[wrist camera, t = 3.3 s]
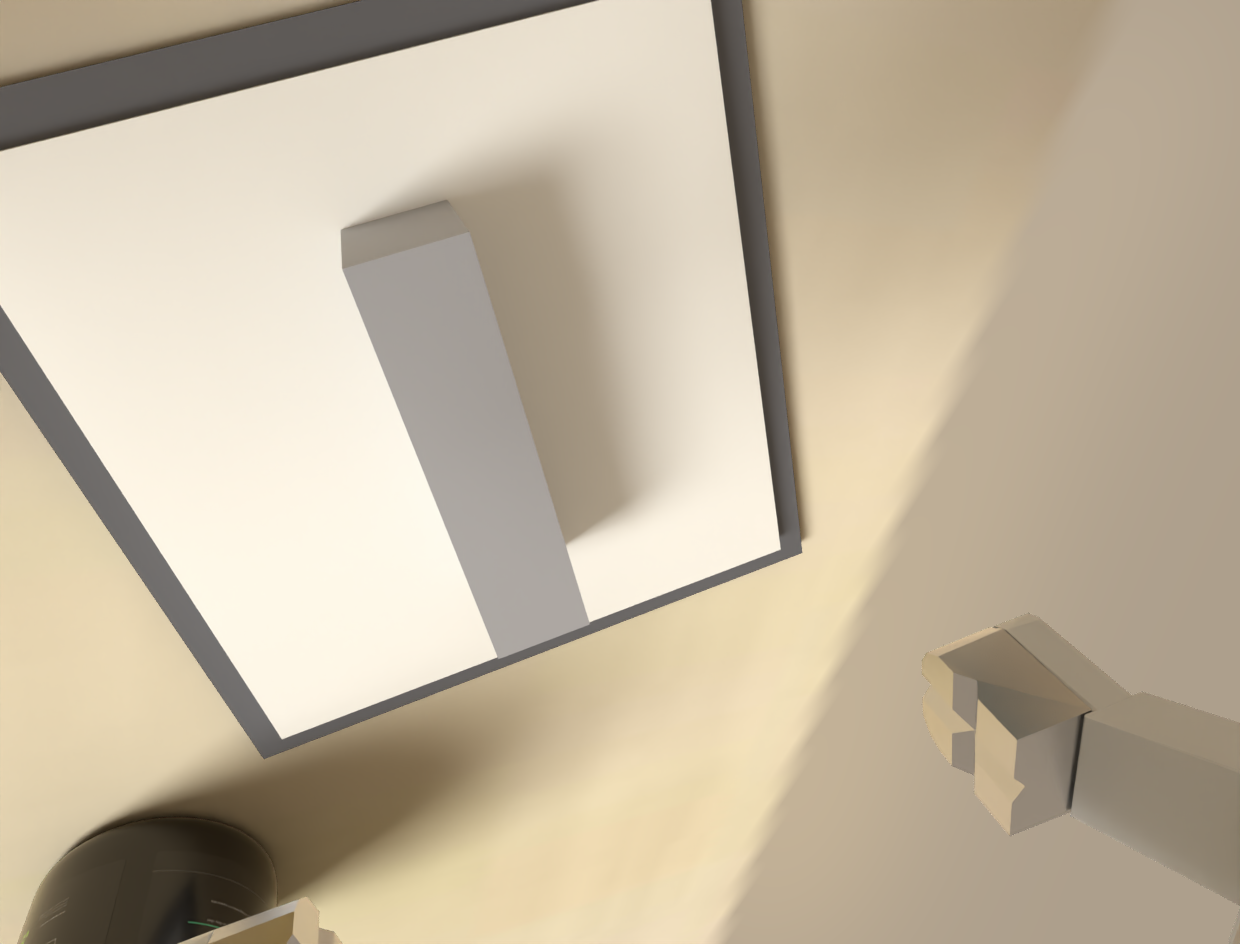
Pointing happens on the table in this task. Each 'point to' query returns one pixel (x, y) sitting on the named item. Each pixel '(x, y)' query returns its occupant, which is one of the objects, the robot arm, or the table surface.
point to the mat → (380, 23)
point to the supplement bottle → (152, 885)
